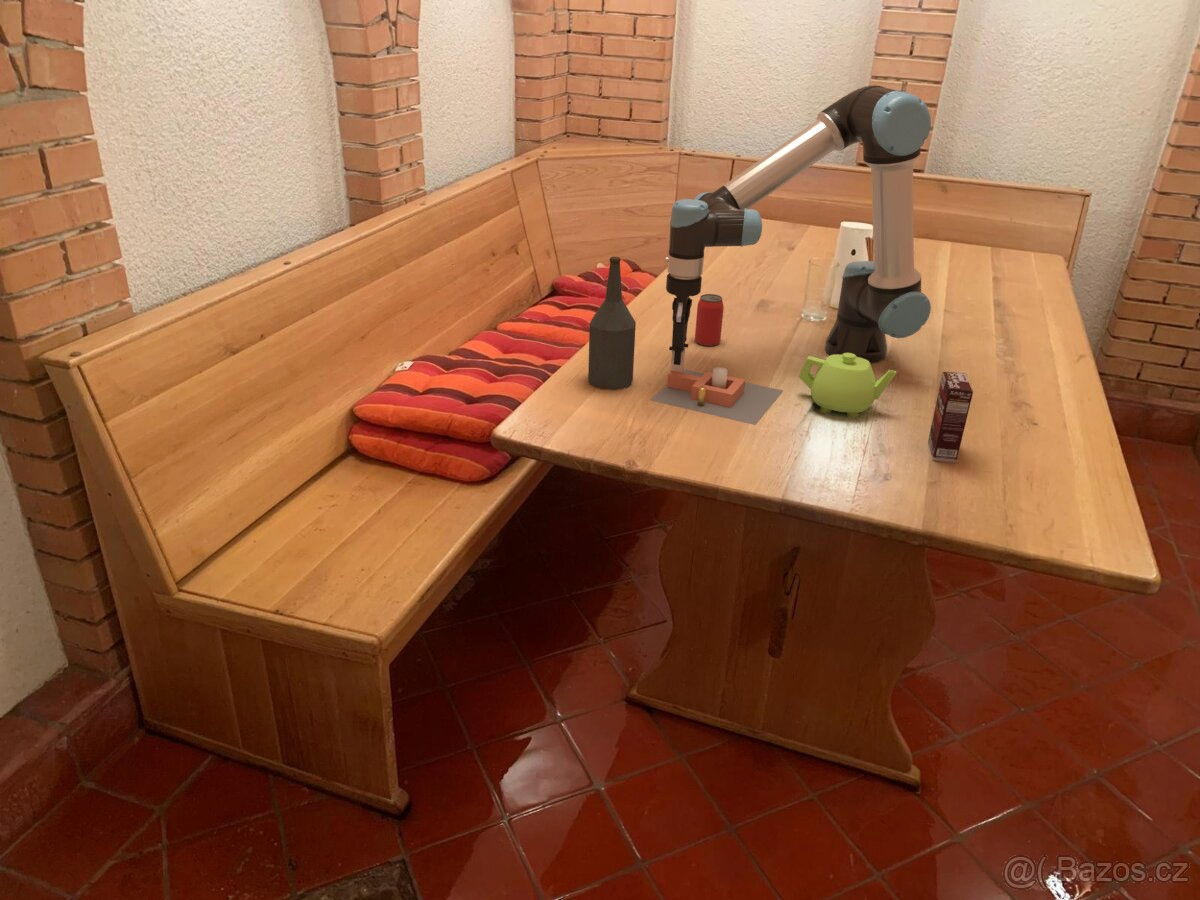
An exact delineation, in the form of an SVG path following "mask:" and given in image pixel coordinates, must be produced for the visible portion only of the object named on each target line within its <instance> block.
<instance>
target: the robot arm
mask: <svg viewBox="0 0 1200 900" xmlns="http://www.w3.org/2000/svg"><path fill="white" fill-rule="evenodd" d="M931 119H932V118H931V114H930V110H929V107H928V106H927V105H926V103H925V102H924V100H922V99H921V98H920V97H918V96H916V95H914V94H912V93H910V92H908V91H905V90H896V89H891V88H888V87H884V86H881V85H877V84H875V85H868V86H867V85H866V86H862V87H860V88H857V89H855V90H853V91H851V92H850V93H847V94H846V95H844V96H843V97H840V98H839V99H838V100H836V101H835V102H833V103H832V104H830V105H828V106H827V107H826V108H824V109H823V110H821V111H820V112H819V113H818V114H817V116H816V120H815V121H814V122H811V124H809V125H808V126H806V128H804V129H802V130H801V131H799V132H798V133H797V134H795V135H793V136H792V137H791V138H789V139H788V140H787V141H785V142H784V143H782V144H781V145H780V146H778V147H777V148H775V149H774V150H772V151H771V152H769V153H768V154H767V155H766V156H764V157H762V158H761V159H759V160H758V161H756V162H755V163H754V164H752V165H750V166H749V167H748V168H746V169H745V170H743V171H742V172H741V173H739V174H737V175H736V176H735V177H734V178H732V179H730V180H729V181H728V182H726V183H725V184H724V185H722V186H721V187H719V188H718V189H716V190H715V191H713V192H709V191H705V192H701V193H699V194H698V195H696V196H695V197H694V198H693V199H691V198H684V199H678V200H676V201H675V202H674V203H673V204H672V207H671V208H672V209H671V212H670V213H671V215H670V221H669V225H670V226H669V241H668V242H669V244H668V246H669V247H668V248H669V249H668V257H665V260H664V261H665V262H666V263H667V272H668V274H667V275H666V282H665V283H666V285H665V286H666V287H665V289H666V290H665V291H666V292H667V293H668V294H669V295H672V296H675V297H674V298H673V301H672V306H671V309H672V319H671V320H672V338H671V346H669V348H668V350H669V351H671V364H670V372H671V371H676V372H681V373H683V370H684V369H685V368H684V366H685V354H686V353H685V352H686V348H689V343H686V342H687V340H688V339H687V335H688V334H687V333H688V322H689V319H690V317H691V316H690V315H691V308H692V305H693V299H692V297H695V296H698V295H700V293H701V292H702V291H701V290H702V280H703V278H702V276H701V275H702V274H703V272H704V262H705V248H709V247H710V248H714V247H716V248H717V247H740V248H741V247H746V246H753V245H756V244H757V243H758V242H759V241H760V239H761V236H762V231H763V221H762V217H761V214H760V213H759V211H758V210H756V209H750V208H752V207H753V206H755V205H756V204H758V203H760V201H762V200H763V199H765V198H766V197H768V196H769V195H771V194H772V193H774V192H775V191H776V190H779V188H781V187H782V186H784V185H786V183H788V182H790V181H791V180H792V179H794V178H796V177H797V176H799V175H800V174H801V173H803V172H804V171H806V170H807V169H809V168H810V167H812V166H813V165H815V164H817V163H818V162H819V161H820V160H822V159H824V158H825V157H826V156H828V155H829V154H831V153H832V152H834V151H837V152H842V151H844V150H845V149H846V148H848V147H850V146H851V145H854V144H857V143H862V156H863V157H862V158H863V159H862V161H863V163H864V164H866V166H867V167H869V168H870V177H871V178H870V179H871V180H870V181H871V205H872V207H871V209H872V210H871V211H872V231H873V232H872V234H873V235H872V236H873V240H872V241H873V242H872V243H873V260H872V261H870V260H869V261H868V260H860V261H859V260H858V261H853V262H849V263H847V264H846V266H845V267H844V271H843V275H842V282H841V287H840V295H839V300H838V306H837V307H838V308H837V313H836V320H835V322H834V324H833V326H832V327H831V329H830V332H829V333H828V334H827V335H828V336H827V337H826V339H825V344H824V351H825V352H826V353H827V354H828V356H830V355H842V354H843V353H852V354H855V355H856V357H860V358H863V359H866V360H868V361H869V362H870V364H872V363H878V362H881V361H883V360H884V359H885V358H887V357H886V356H887V351H888V343H887V337H886V335H888V336H889V337H892V338H895V339H904V338H908V337H911V336H913V335H914V334H916V333H918V331H920V330H921V328H922V327H923V326H924V325H926V323H927V321H928V320H929V317H930V314H931V309H932V306H931V302H930V299H929V298H928V297H927V295H926V294H924V293H923V292H922V274H921V272H920V271H918V269H916V268H915V252H914V251H915V250H914V249H915V239H914V235H915V233H914V232H915V231H914V221H915V220H914V163H915V162H916V161H917V160H918V159H919V158H920V156H921V148H922V146H924V144H925V140H926V139H928V138H929V135H930V131H931V126H932V120H931Z"/></svg>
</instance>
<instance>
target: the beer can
mask: <svg viewBox="0 0 1200 900" xmlns="http://www.w3.org/2000/svg"><path fill="white" fill-rule="evenodd" d="M696 308H697V309H696V318H695V328H694V329H695V331H694V332H695V333H694V341H695V343H697V344H699V345H700V346H706V347H714V346H717V345H719V344H720V342H721V339H722V327H723V318H724V317H723V316H724V308H725V307H724V301H723V297H722V296H721V295H719V294H715V293H704V294H701V295H700V296H699V300H698V302H697V307H696Z"/></svg>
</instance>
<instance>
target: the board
mask: <svg viewBox="0 0 1200 900" xmlns="http://www.w3.org/2000/svg"><path fill="white" fill-rule="evenodd" d="M683 373H685V374H690V375H695V376H700V377H701V376H702V375H703V374H704V372H701V371H700V372H699V371H695V370H692V369H691V370H690V369H687V368H683ZM712 373H713V374H712V385H711V386H713V387H717V388H722V389H726V382H727V376H728V369H727V368H725V367H720V366H718V367H713V369H712ZM783 392H784V390H783V389H778V388H775V387H768V386H764V385H759V384H756V383H750V382H747V381H745V389H744V393H743V394H742V395H741V396H740V397H739V399H738V400H737V401H736V402H735V403H734V405H733V406H732V407H727V406H722V405H718V404H713V403H709V402H705V405H704V406H698V405H697V401H698V400H695V399H691V392H689V391H685V390H680V389H676V388H671V387H667V384H666V385H665V386H664V387H662V388H661V389H660V390H659V391H658V392H657V393H655V395H654V396H652V397H651V398H650V399H649V401H652V402H657V403H660V404H665V405H669V406H673V407H677V408H682V409H687V410H690V411H694V412H699V413H703V414H707V415H712V416H715V417H719V418H720V417H721V418H724V419H729V420H732V421H737V422H740V423H741V422H742V423H745V424H750V425H755V426H756V425H757V424H758V423H759V422H760V420H761V419H762V418H763V416H764V415H765V414H766V413H767V412H768V410H769V409H770V408H771V407H772V406H773V404H774V403H775V402H776V401H777V399H779V397H780V396H781V394H782V393H783Z"/></svg>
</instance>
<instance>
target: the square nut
mask: <svg viewBox="0 0 1200 900" xmlns="http://www.w3.org/2000/svg"><path fill="white" fill-rule="evenodd" d="M703 373H704V372H703ZM712 374H713V372H711V371H706V372H705V373H704V374H703V375H702V376H701V377H700V376H695V375H690V374H685V373H681V372H676V371H671V370H670V372H669V373H667V381H666V382H667V384H666V385H667V387H671V388H676V389H680V390H685V391H689V392H691V399H695V400H698V390H699V387H700V386H703V387H706V396H705V402H709V403H713V404H718V405H722V406H727V407H732V406H733V405H734V403H735V402H736V401H737V400H738V399H739V397H740V396H741V395H742V394H743V393H744V389H745V382H746V379H744V378H740V377H735V376H729V375H727V382H726V389H722V388H717V387H713V386H711V385H712Z"/></svg>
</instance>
